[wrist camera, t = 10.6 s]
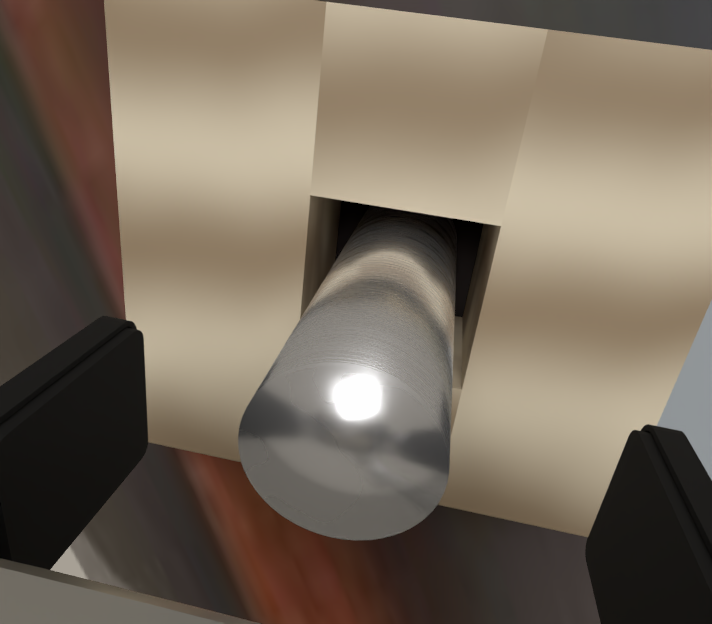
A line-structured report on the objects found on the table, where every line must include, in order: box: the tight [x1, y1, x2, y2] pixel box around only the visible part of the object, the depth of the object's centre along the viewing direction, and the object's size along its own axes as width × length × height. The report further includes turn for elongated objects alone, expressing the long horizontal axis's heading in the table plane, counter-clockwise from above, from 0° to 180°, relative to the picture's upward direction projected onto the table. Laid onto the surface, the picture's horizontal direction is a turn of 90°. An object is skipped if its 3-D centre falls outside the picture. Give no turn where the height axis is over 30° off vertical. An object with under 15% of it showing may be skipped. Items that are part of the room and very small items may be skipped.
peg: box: [238, 205, 457, 540], centre depth 15 cm, size 4×4×12 cm
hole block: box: [104, 0, 712, 537], centre depth 18 cm, size 14×16×5 cm
